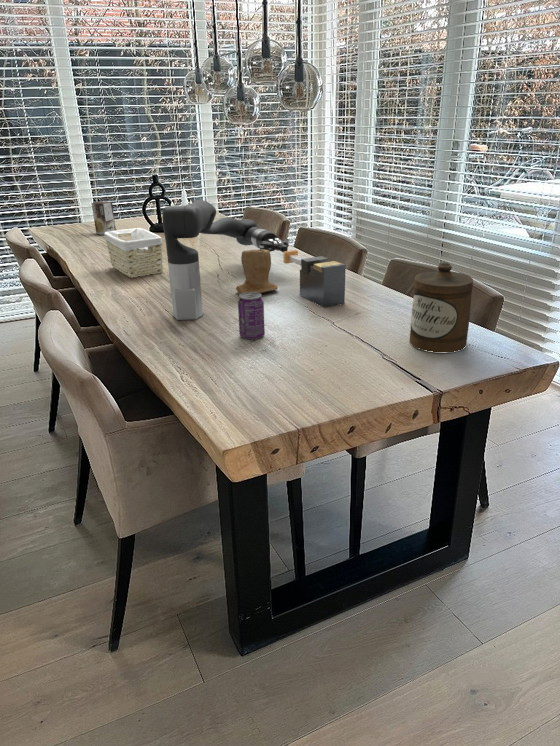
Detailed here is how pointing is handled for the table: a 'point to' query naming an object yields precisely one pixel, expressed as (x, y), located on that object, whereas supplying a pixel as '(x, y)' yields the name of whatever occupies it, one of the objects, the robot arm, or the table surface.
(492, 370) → the table surface
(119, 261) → the storage basket
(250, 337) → the beverage can
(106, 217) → the coffee box
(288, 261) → the sliding latch bolt
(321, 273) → the latch bracket
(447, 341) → the wooden container
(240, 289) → the stone cup
